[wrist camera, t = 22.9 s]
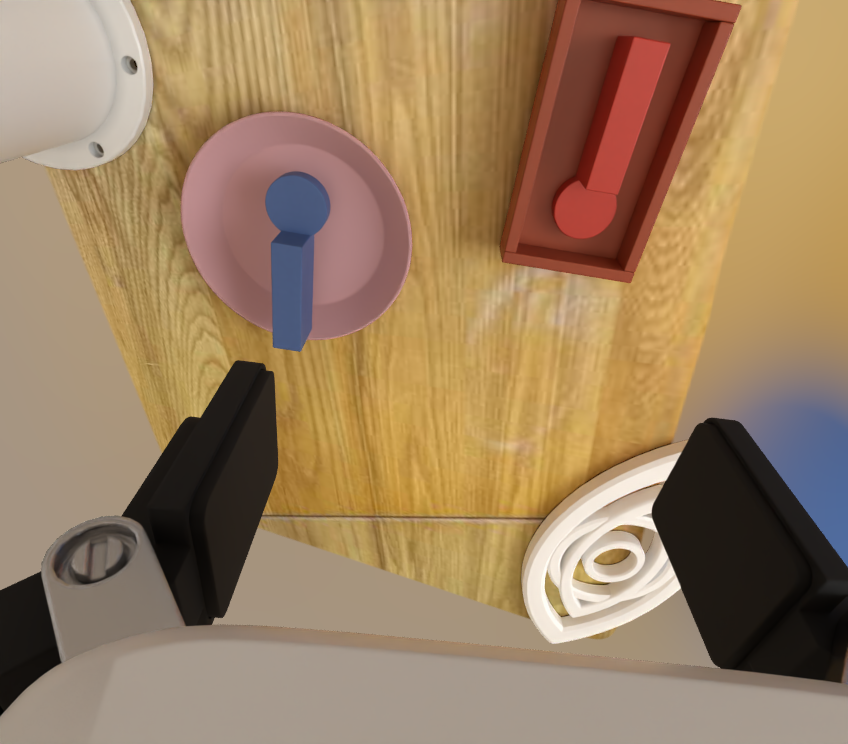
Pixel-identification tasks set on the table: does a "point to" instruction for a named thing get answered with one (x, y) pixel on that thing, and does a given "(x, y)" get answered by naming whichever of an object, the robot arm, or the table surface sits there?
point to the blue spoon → (294, 254)
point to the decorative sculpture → (590, 536)
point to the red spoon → (610, 138)
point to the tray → (572, 116)
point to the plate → (254, 231)
